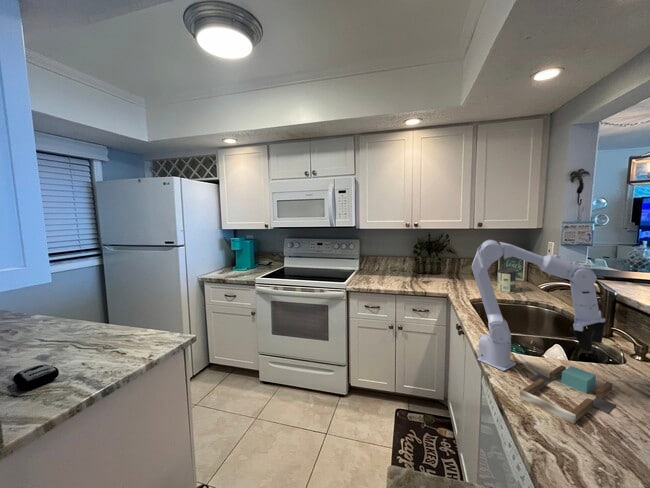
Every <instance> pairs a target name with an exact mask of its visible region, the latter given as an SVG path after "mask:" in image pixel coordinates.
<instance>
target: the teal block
mask: <svg viewBox="0 0 650 488" xmlns="http://www.w3.org/2000/svg"><path fill="white" fill-rule="evenodd" d="M596 380H597V375H596V374H594V373H591V372H589V371H585V370H583V369H581V368H577V367H576V366H568V367H566V370H564V371H562V375H561V384H562V385H565V386H567V387H569V388H572V389H575V390H577V391H579V392H581V393H584V394H588V393H590V391H592V390H593V389H595V388H596V384H597V383H596Z"/></svg>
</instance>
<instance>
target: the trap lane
mask: <svg viewBox="0 0 650 488" xmlns="http://www.w3.org/2000/svg"><path fill="white" fill-rule="evenodd" d="M566 369H567V367H566V366H564V365H562V364H561V365H559V366H558V367H556V368H555V369H553V370H551V371H550V372H549V376H546V375H543V374H542V373H538V374H536V375H534V376H533V377H531V378H529V381H531V382H532V383H531V384H529V385H528V386H526V387H524V388H523V389H521V390H520V391H519V399H521V400H524V401H526V402H528V403H530V404H532V405H533V406H536V407H538V408H540V409H542V410H544V411H547V412H548V413H550V414H552V415H554V416H557V417H558V418H560V419H562V420H564V421H566V422H568V423H571V424H573V425H574V424H575V423H577V422H578V421H579V420H580V419H581V418H582V417H583V416H584V415H585V414H587V413H588V412H590V410H591V409H592V408H594V409H597V410H598V411H601V412H603V413H606V414H609V413H610V412H611V411H612V410H613V409H614V408H615V407H616V406H617V404H616V403H613V402H611V401H608V400H607V399H606V400H605V399H604V398H605V397H606V396H607V395H608V394H609V393H611V392H612V391H613V385H614V384H613V383H612V382H609V381H606V382H604V383H603V384H602V385H601V386H600V387H598V388H597V389H596V391H595V398H593V399H592V398H589V397H587V398H585V399H583V401H582V402H580V404H578V405H577V406H576V407H574V409H573V408H572V410H571V411H569V410H566V409H564V408H562V407H560V406H558V405H556V404H554V403H551V402H549V401H547V400H545V399H544V398H541V397H539V396H537V395H534V394H536V393H537V392H539V391H540V390H542V389H543V388H545V387H546V385H548V384H549V383H551V382H552V381H555V380H556V379H558V378H560V377H562V371H564V370H566Z"/></svg>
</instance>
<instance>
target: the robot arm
mask: <svg viewBox="0 0 650 488" xmlns="http://www.w3.org/2000/svg"><path fill="white" fill-rule="evenodd" d="M501 257H503V259H507V258H516V259H519V260H521V261H525V262H528V263H531V264H534V265H538V266H539V268H540V270H541V271H542V272H545V273H547V274H550V275H551V276H555V277H558V278H561V279H564V280H568V281H569V284H570V293H571V298H572V305H573V306H572V307H573V312H574V316H573V317H574V323H573V324H572V325H571V326H569V330H570V332H571V333H572V334H573V336H574V337H575V338H576V340H577V342H578V344H579V347H580V348H581V350H582V351H586V352H592V350H593V343H599V344H602V341H603V338H604V337H603V336H604V331H605V327H606V325H607V323H608V319H606V318H605V317H602V312H601V310H600V309H599V304H598V298H597V292H596V288H595V283H596V281H597V278H598V276H597V274H595V272H594V271H593V269H591V268H589V267H587V266H585V265H582V264H580V263H579V262H577V261H573V262H572V261H569V260H567V259H564V258H561V256H560V255H558V254H554V255H553V254H547V255H544V256H542V255H540V254H538V253H535V252H532V251H529V250H526V249H524V248H521V247H519V246H517V245H513V244H511V243H507V242H503V241H502V242H501V241H496V240H494V239H487V240H484V241H483V242H482V243H481V244H480V245H479V246H478V248H477V249H476V253H475V255H474V258H473V261H472V262H471V263H472V264H471V270H472V274H473V275H474V276H473V277H474V279H475V282H476V286H477V288H478V292H479V295H480V299H481V300H482V303H483V306H484V307H483V308H484V311H485V314H486V317H487V320H488V322H487V326H488V330H489V332H488V334H482V335H481V337H480V338H479V341H478V358H477V361H479V362H482V363H484V364H486V365H489V366H490V367H493V368H496V369H497V370H500V371H502V372H505V371H508V370H509V369H510V368H513V367H515V366H516V365H517V363H516V362H514V361H511V358H512V357H511V355H512V354H511V353H512V352H511V351H512V332H511V330H510V328H509V324H508V322H507V320H505V318H504V316H503V315H502V312H501V309H500V307H499V303H498V300H497V297H496V296H497V295H496V294H495V291H494V288H493V284H492V282H491V279H490V275H489V272H488V270H489V268H490V267H491V266H492V264H493V263H495V262H497V261H498V260H499V259H500V258H501Z"/></svg>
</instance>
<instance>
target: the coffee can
mask: <svg viewBox="0 0 650 488" xmlns="http://www.w3.org/2000/svg"><path fill="white" fill-rule="evenodd" d="M516 272H517V270H514V269H497V289H496V290H497V292H499V293H503V294H514V293H516V283H517V282H516V279H517V278H516V277H517V275H516V274H517V273H516Z"/></svg>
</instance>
